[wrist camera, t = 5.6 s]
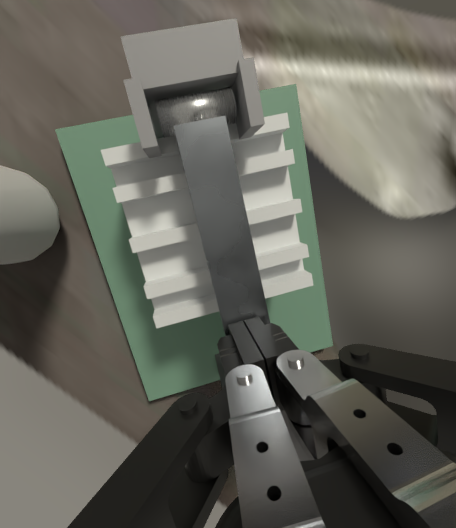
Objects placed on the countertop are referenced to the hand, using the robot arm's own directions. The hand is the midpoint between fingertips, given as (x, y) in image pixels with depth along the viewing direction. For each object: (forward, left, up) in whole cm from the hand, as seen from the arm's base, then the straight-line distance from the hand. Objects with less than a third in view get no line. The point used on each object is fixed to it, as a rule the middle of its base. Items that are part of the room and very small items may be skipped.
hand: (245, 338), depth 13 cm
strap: (0, -5, -1) cm, 5 cm away
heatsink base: (0, -3, -10) cm, 10 cm away
